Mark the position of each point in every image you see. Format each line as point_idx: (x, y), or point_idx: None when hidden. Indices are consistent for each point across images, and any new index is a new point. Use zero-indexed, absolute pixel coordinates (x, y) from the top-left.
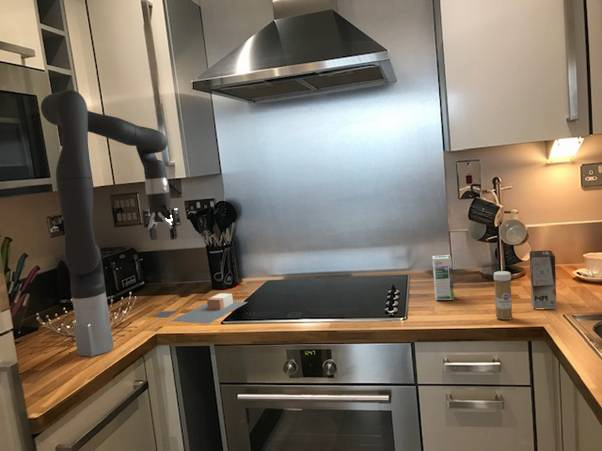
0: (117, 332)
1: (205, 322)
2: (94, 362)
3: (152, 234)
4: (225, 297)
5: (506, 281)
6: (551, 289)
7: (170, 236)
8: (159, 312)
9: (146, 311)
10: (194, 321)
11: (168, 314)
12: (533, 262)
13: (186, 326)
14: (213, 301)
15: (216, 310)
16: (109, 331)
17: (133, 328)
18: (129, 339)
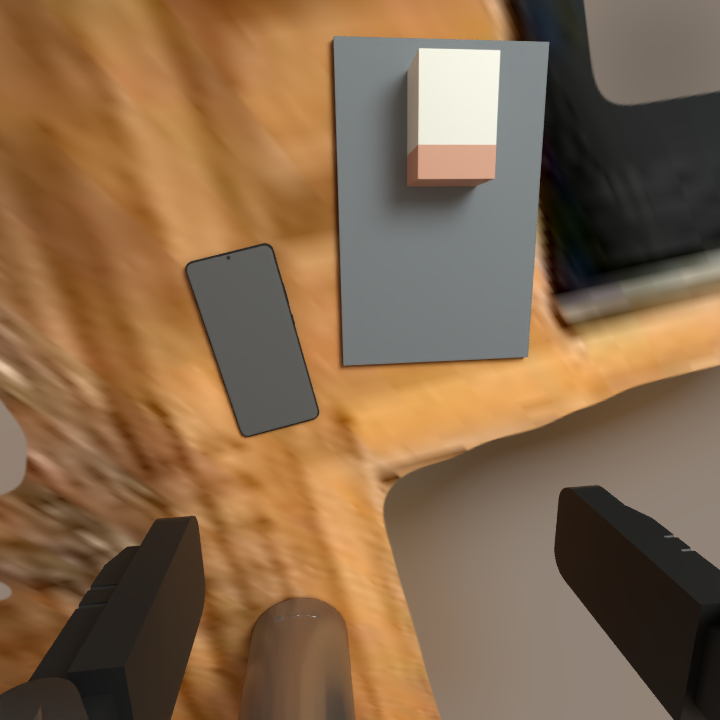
0: (211, 507)
1: (506, 350)
2: (370, 687)
3: (182, 676)
4: (496, 122)
5: None
6: None
7: (582, 601)
8: (192, 281)
9: (82, 260)
10: (453, 349)
11: (265, 297)
12: None
13: (444, 388)
14: (454, 180)
15: (462, 199)
16: (348, 670)
17: (238, 459)
18: (324, 542)
